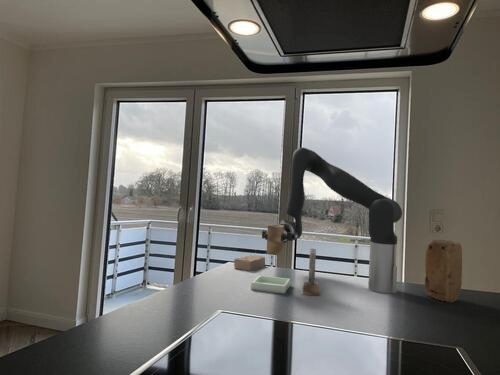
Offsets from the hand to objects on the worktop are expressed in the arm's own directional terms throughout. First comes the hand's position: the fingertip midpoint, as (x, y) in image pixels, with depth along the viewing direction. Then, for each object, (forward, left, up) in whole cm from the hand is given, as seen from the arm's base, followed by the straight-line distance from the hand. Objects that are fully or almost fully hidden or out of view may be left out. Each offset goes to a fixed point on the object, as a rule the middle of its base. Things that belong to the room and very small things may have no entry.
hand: (274, 237), depth 125 cm
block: (-57, -13, -18) cm, 61 cm away
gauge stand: (-14, 0, -18) cm, 22 cm away
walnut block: (0, -3, -6) cm, 7 cm away
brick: (+17, -32, -18) cm, 41 cm away
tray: (0, -1, -18) cm, 18 cm away
